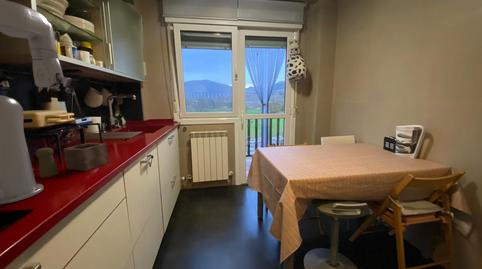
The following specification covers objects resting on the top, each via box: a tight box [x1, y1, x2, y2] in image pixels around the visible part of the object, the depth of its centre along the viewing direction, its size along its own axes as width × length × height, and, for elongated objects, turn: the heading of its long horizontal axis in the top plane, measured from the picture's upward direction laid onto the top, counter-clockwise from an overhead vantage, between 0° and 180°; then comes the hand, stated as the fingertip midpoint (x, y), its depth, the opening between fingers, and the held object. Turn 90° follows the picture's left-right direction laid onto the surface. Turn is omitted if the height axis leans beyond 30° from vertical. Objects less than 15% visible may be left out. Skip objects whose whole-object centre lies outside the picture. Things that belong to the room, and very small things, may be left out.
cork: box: [35, 147, 60, 178], centre depth 86 cm, size 6×6×11 cm
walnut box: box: [62, 142, 110, 172], centre depth 96 cm, size 11×11×9 cm
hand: (54, 102), depth 84 cm, fingers open, 9 cm apart
